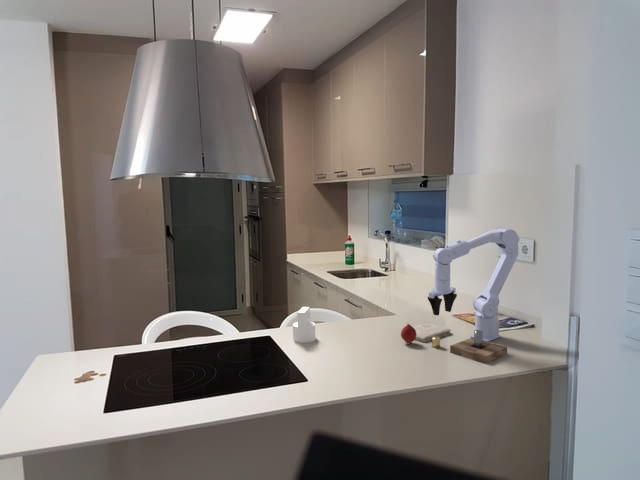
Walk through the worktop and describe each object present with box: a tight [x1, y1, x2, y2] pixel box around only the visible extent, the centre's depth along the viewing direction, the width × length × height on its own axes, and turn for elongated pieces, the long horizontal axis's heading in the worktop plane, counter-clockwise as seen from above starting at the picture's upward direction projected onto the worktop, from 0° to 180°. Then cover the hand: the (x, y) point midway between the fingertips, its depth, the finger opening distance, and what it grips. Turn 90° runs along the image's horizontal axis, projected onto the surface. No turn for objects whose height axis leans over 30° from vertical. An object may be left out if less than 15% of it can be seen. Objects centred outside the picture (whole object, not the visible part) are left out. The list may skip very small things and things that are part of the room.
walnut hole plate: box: [449, 337, 508, 364], centre depth 160 cm, size 14×14×2 cm
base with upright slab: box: [292, 306, 316, 344], centre depth 179 cm, size 9×9×12 cm
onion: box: [400, 322, 416, 345], centre depth 171 cm, size 6×6×8 cm
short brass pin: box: [431, 337, 441, 349], centre depth 168 cm, size 3×3×4 cm
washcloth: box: [412, 322, 451, 343], centre depth 182 cm, size 12×18×3 cm, turn 128°
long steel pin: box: [473, 329, 483, 349], centre depth 160 cm, size 3×3×8 cm
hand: (442, 313), depth 175 cm, fingers open, 7 cm apart
